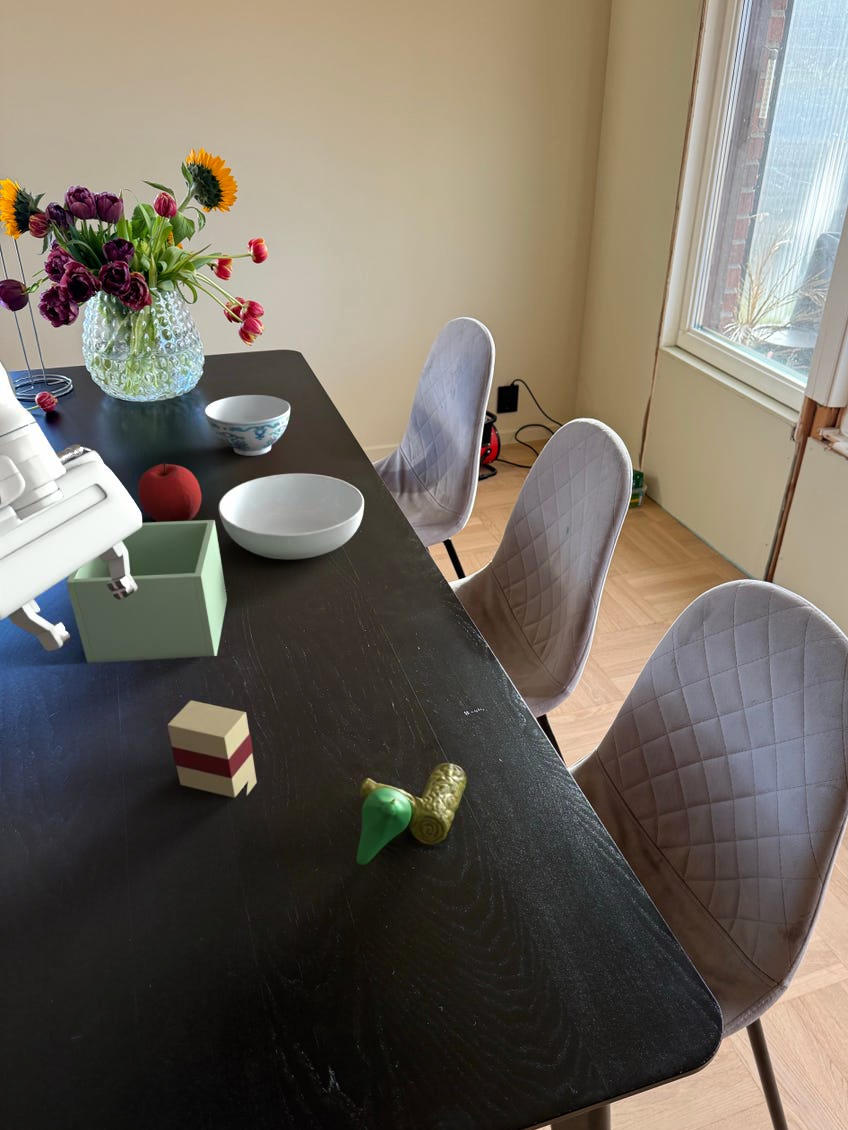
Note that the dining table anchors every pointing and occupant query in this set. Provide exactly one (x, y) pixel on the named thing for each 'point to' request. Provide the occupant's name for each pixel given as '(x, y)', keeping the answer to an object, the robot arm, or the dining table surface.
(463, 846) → the dining table surface
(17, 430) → the robot arm
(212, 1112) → the dining table surface
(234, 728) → the chocolate box
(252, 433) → the chinaware
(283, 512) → the serving bowl
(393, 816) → the bird figurine
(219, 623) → the trash bin
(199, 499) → the apple
